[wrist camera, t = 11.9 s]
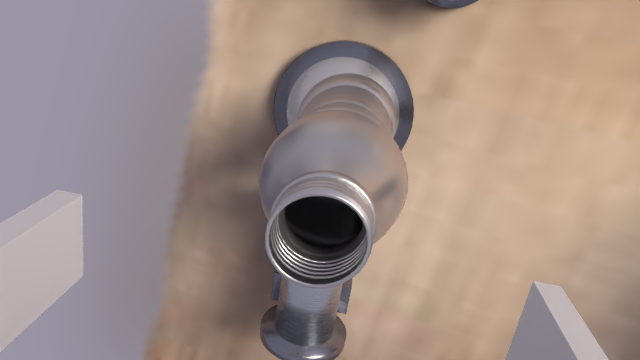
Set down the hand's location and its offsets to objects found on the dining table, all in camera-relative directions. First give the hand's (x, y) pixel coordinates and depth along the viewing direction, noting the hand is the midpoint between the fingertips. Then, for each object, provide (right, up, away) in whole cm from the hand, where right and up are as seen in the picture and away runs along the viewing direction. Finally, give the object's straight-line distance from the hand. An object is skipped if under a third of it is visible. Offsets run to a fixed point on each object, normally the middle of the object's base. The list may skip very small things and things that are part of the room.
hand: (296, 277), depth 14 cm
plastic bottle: (+3, +8, +21) cm, 23 cm away
